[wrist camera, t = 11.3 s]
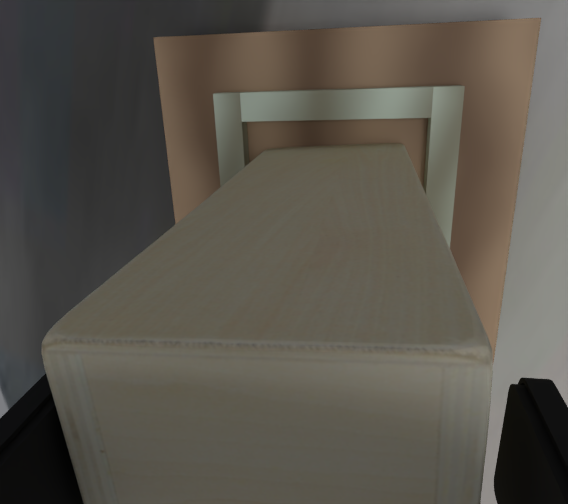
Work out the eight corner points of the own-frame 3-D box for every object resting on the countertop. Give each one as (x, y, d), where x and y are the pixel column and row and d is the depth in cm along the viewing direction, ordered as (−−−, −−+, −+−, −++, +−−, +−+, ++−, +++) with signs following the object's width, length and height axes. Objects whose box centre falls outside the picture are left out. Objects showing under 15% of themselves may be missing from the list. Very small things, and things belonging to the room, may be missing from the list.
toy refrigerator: (271, 265, 30) (107, 615, 11) (262, 148, 28) (27, 330, 8) (401, 265, 29) (476, 663, 10) (404, 141, 26) (515, 342, 7)
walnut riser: (511, 26, 28) (549, 15, 22) (475, 327, 35) (497, 378, 29) (184, 42, 31) (144, 36, 25) (211, 316, 38) (184, 359, 32)
